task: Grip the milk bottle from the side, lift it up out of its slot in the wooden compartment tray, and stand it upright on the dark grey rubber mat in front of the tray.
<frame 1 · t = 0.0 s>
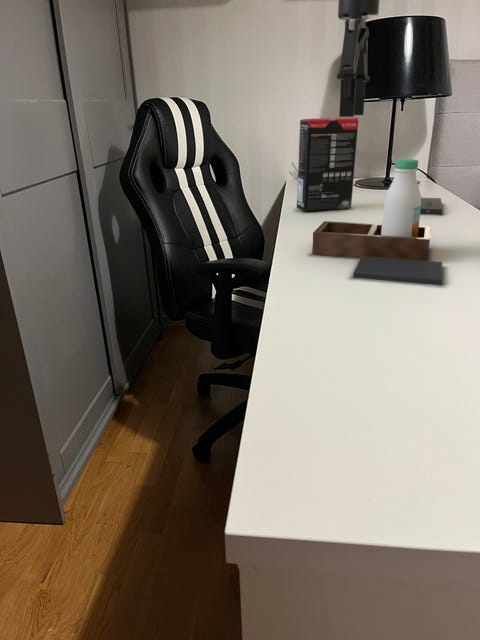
hand: (351, 116, 102), 29 cm above the table, tool pointing down, fingers open, 13 cm apart
mat: (398, 271, 100), on the table
graphics card box: (324, 209, 161), on the table
wooden compartment tray: (370, 251, 114), on the table
milk bottle: (397, 253, 112), resting in wooden compartment tray
smart home device: (427, 208, 159), on the table
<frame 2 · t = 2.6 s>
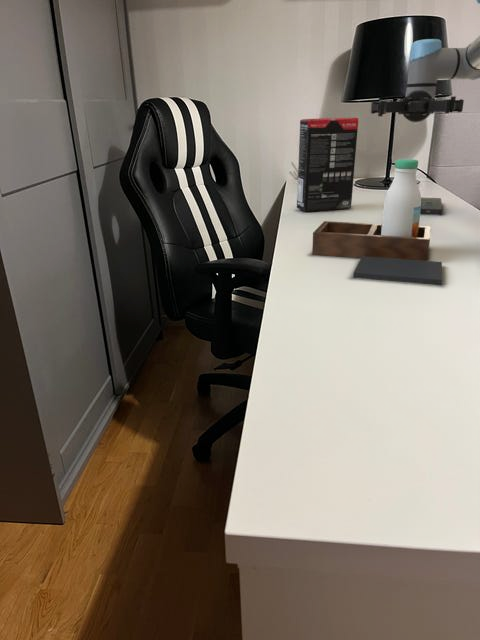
hand: (414, 107, 109), 30 cm above the table, tool horizontal, fingers open, 13 cm apart
nothing on the table moved.
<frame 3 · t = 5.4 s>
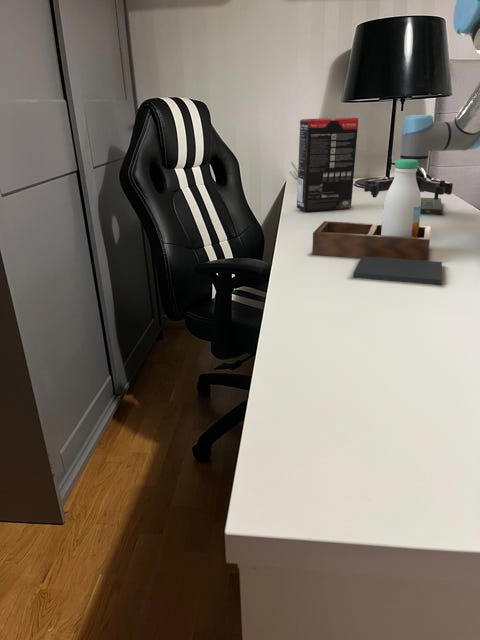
hand: (405, 192, 114), 12 cm above the table, tool horizontal, fingers open, 13 cm apart
nothing on the table moved.
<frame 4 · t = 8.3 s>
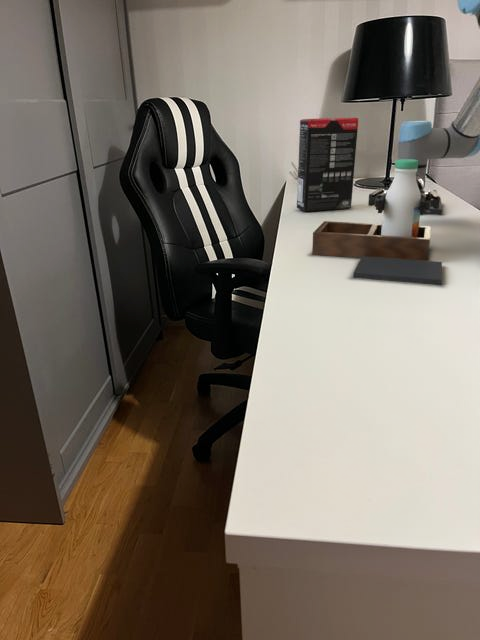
hand: (400, 207, 103), 11 cm above the table, tool horizontal, fingers closed on milk bottle, 8 cm apart
milk bottle: (397, 253, 112), resting in wooden compartment tray, touching gripper
everything else where it was.
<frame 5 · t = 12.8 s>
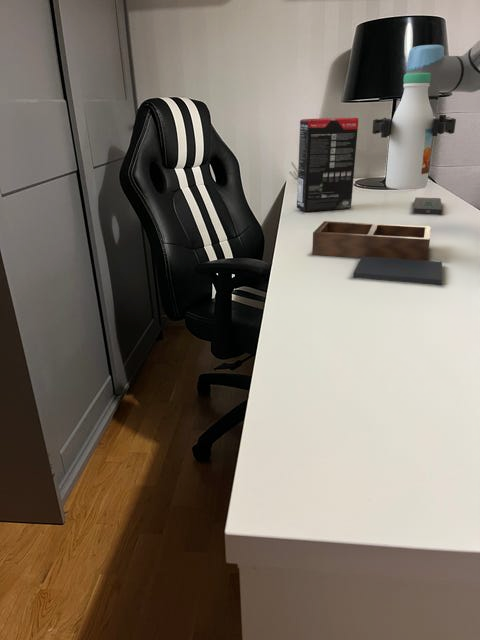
hand: (410, 128, 89), 27 cm above the table, tool horizontal, fingers closed on milk bottle, 8 cm apart
milk bottle: (405, 188, 97), point 16 cm above the table, touching gripper
everything else where it was.
when the fingers open (12 cm above the table, at t = 17.6 s): milk bottle stays where it is, resting on mat.
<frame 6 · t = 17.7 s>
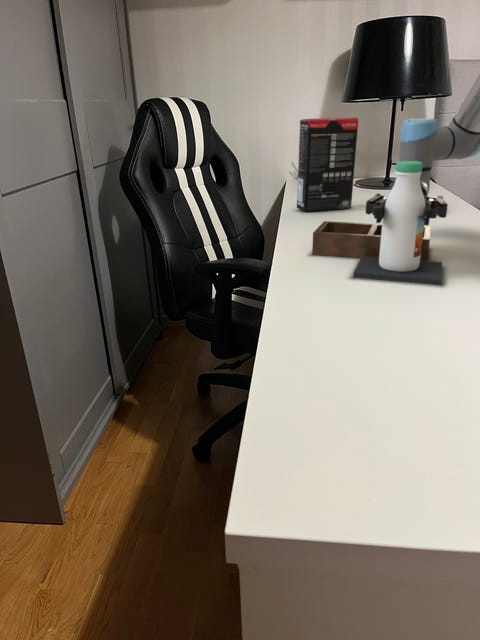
hand: (402, 216, 91), 12 cm above the table, tool horizontal, fingers open, 8 cm apart
milk bottle: (398, 267, 99), point 1 cm above the table, touching mat
everything else where it was.
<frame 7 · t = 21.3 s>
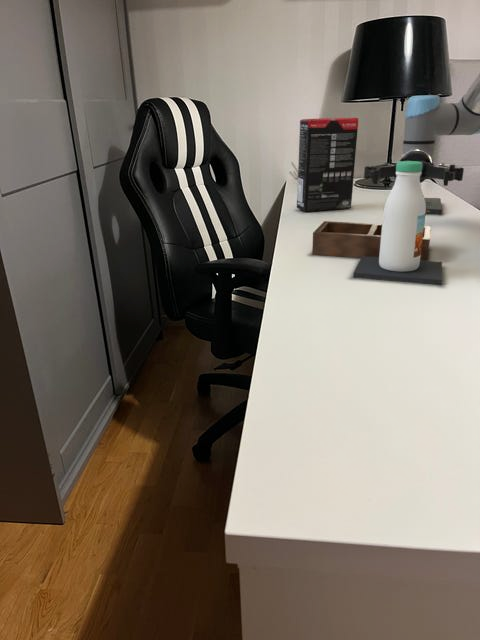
hand: (410, 177, 101), 17 cm above the table, tool horizontal, fingers open, 13 cm apart
nothing on the table moved.
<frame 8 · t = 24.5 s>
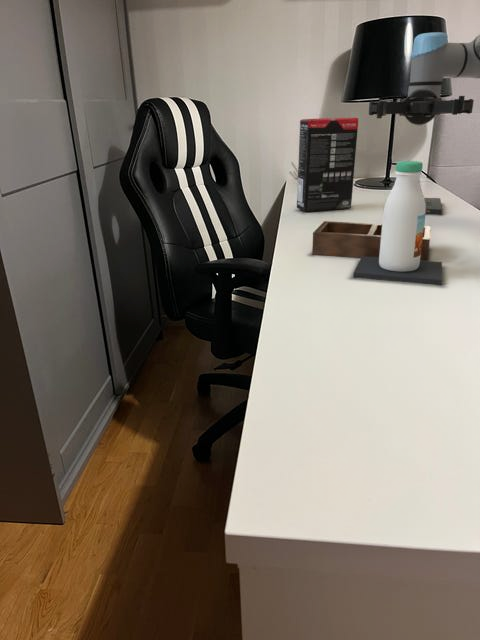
hand: (417, 107, 96), 30 cm above the table, tool horizontal, fingers open, 13 cm apart
nothing on the table moved.
at the end: milk bottle inside the target area (0.1 cm from its centre), point 0.8 cm above the table; milk bottle tilted 0°; the gripper is holding nothing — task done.
